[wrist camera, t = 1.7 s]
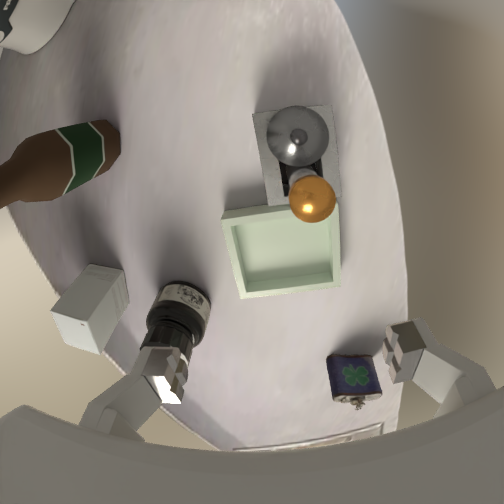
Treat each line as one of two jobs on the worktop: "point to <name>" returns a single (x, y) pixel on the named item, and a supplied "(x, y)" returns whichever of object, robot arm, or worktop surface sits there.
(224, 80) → the worktop surface
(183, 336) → the ink bottle
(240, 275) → the tray
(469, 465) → the robot arm
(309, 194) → the pin
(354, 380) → the flask
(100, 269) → the supplement box
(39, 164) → the beer bottle
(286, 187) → the block
